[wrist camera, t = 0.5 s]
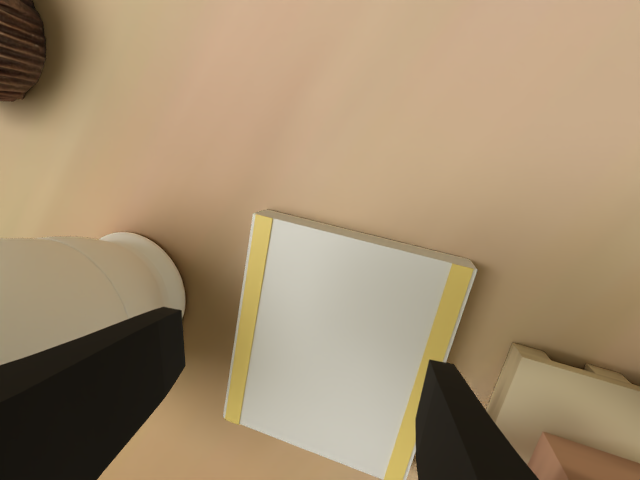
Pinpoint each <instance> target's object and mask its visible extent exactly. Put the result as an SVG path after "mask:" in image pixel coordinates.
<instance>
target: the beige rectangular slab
mask: <svg viewBox="0 0 640 480" xmlns="http://www.w3.org/2000/svg"><path fill="white" fill-rule="evenodd" d="M486 411H487V413H488V414H489V415H490V417H491V418H492V420H493V421H494V422H495V424H496V425H497V426H498V428H499V429H500V430H501V432H502V433H503V434H504V436H505V437H506V438H507V440H508V441H509V442H510V444H511V445H512V446H513V448H514V449H515V450H516V452H517V453H518V454H519V455H520V457H521V458H522V459H523V460H524V462H525V463H526V464H527V465H528V463H529V461H530V458H531V456H532V454H533V452H534V450H535V447H536V445H537V443H538V441H539V439H540V436H541V434H542V432H546V433H549V434H552V435H555V436H558V437H561V438H564V439H567V440H570V441H573V442H577V443H580V444H583V445H586V446H589V447H592V448H595V449H598V450H601V451H604V452H607V453H610V454H613V455H616V456H619V457H622V458H625V459H628V460H631V461H634V462H637V463H640V386H637V385H634V384H631V383H630V382H629V381H628V380H627V379H626V378H625V377H623V376H622V375H621V374H620V373H618V372H614V371H611V370H607V369H604V368H600V367H597V366H593V365H590V364H586V365H585V367H584V369H583V370H582V369H579V368H575V367H572V366H568V365H565V364H561V363H558V362H555V361H551V360H550V359H549V357H548V356H547V355H546V354H545V352H544V351H541V350H537V349H534V348H530V347H527V346H523V345H520V344H516V343H512V345H511V348H510V350H509V353H508V355H507V358H506V361H505V363H504V366H503V368H502V371H501V373H500V376H499V378H498V381H497V383H496V386H495V389H494V391H493V394H492V396H491V399H490V401H489V404H488V406H487V409H486Z"/></svg>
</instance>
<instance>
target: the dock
mask: <svg viewBox="0 0 640 480" xmlns="http://www.w3.org/2000/svg"><path fill="white" fill-rule="evenodd" d="M476 273H477V268H476V267H475V266H474V264H473V263H472V262H471V260H470V259H467V258H463V257H459V256H455V255H451V254H447V253H442V252H438V251H434V250H430V249H426V248H422V247H418V246H414V245H410V244H406V243H402V242H398V241H394V240H390V239H386V238H382V237H378V236H373V235H369V234H365V233H361V232H357V231H353V230H349V229H345V228H341V227H337V226H333V225H329V224H325V223H321V222H317V221H313V220H309V219H305V218H300V217H296V216H292V215H288V214H284V213H280V212H276V211H272V210H268V209H267V210H263V211H259V212H256V213H253V218H252V224H251V231H250V238H249V245H248V251H247V258H246V265H245V272H244V278H243V285H242V292H241V299H240V305H239V312H238V319H237V326H236V332H235V339H234V346H233V353H232V360H231V366H230V373H229V380H228V387H227V393H226V400H225V407H224V414H223V418H225V420H227V421H230V422H232V423H235V424H237V425H239V424H241V425H244V426H246V427H249V428H251V429H254V430H257V431H259V432H262V433H264V434H267V435H269V436H272V437H275V438H277V439H280V440H282V441H285V442H287V443H290V444H293V445H295V446H298V447H300V448H303V449H305V450H308V451H310V452H313V453H316V454H318V455H321V456H323V457H326V458H328V459H331V460H334V461H336V462H339V463H341V464H344V465H346V466H349V467H352V468H354V469H357V470H359V471H362V472H364V473H367V474H370V475H372V476H375V477H377V478H380V479H382V480H406V479H407V476H408V473H409V470H410V467H411V464H412V461H413V458H414V455H415V452H416V430H415V418H416V414H417V410H418V405H419V401H420V397H421V393H422V388H423V384H424V380H425V376H426V371H427V367H428V363H429V359H430V360H435V361H440V362H445V363H446V361H447V358H448V355H449V352H450V349H451V346H452V343H453V340H454V337H455V335H456V332H457V329H458V326H459V323H460V320H461V317H462V314H463V311H464V308H465V305H466V302H467V299H468V296H469V293H470V290H471V288H472V285H473V282H474V279H475V276H476Z"/></svg>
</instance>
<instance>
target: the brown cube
mask: <svg viewBox="0 0 640 480" xmlns="http://www.w3.org/2000/svg"><path fill="white" fill-rule="evenodd" d="M528 467H529V468H530V469H531V470H532V471H533V473H534V474H535V475H536V476H537V477H538V479H539V480H640V463H637V462H634V461H631V460H628V459H625V458H622V457H619V456H616V455H613V454H610V453H607V452H604V451H601V450H598V449H595V448H592V447H589V446H586V445H583V444H580V443H577V442H573V441H570V440H567V439H564V438H561V437H558V436H555V435H552V434H549V433H546V432H542V434H541V436H540V439H539V441H538V443H537V445H536V447H535V450H534V452H533V454H532V456H531V458H530V461H529V463H528Z"/></svg>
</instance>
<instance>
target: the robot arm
mask: <svg viewBox="0 0 640 480" xmlns="http://www.w3.org/2000/svg"><path fill="white" fill-rule="evenodd" d="M184 367H185V353H184V339H183V325H182V310H178V309H173V308H168V307H161V308H157V309H154V310H151V311H148V312H145V313H143V314H140V315H137V316H135V317H132V318H129V319H127V320H124V321H122V322H119V323H116V324H114V325H111V326H109V327H106V328H103V329H101V330H98V331H96V332H93V333H91V334H88V335H85V336H83V337H80V338H78V339H75V340H72V341H69V342H66V343H64V344H61V345H58V346H55V347H52V348H50V349H47V350H44V351H41V352H38V353H36V354H33V355H30V356H27V357H24V358H21V359H18V360H15V361H12V362H9V363H5V364H2V365H0V480H97V479H98V478H99V476H100V475H101V474H102V473H103V471H104V470H105V469H106V468H107V467H108V465H109V464H110V463H111V462H112V461H113V459H114V458H115V457H116V456H117V455H118V453H119V452H120V451H121V450H122V449H123V448H124V446H125V445H126V444H127V443H128V442H129V440H130V439H131V438H132V437H133V436H134V434H135V433H136V432H137V431H138V430H139V428H140V427H141V426H142V425H143V424H144V422H145V421H146V420H147V419H148V418H149V416H150V415H151V414H152V413H153V412H154V410H155V409H156V408H157V407H158V406H159V404H160V403H161V402H162V401H163V399H164V398H165V397H166V395H167V394H168V392H169V391H170V389H171V388H172V386H173V385H174V383H175V382H176V380H177V379H178V377H179V375H180V374H181V372H182V371H183V369H184ZM415 430H416V463H417V472H418V480H539V479H538V477H537V476H536V475H535V474H534V473H533V471H532V470H531V469H530V468H529V467H528V465H527V464H526V463H525V462H524V460H523V459H522V458H521V457H520V455H519V454H518V453H517V452H516V450H515V449H514V448H513V446H512V445H511V444H510V442H509V441H508V440H507V438H506V437H505V436H504V434H503V433H502V432H501V430H500V429H499V428H498V426H497V425H496V424H495V422H494V421H493V420H492V418H491V417H490V415H489V414H488V413H487V411H486V410H485V408H484V407H483V406H482V404H481V403H480V401H479V400H478V398H477V397H476V396H475V394H474V393H473V391H472V390H471V388H470V387H469V385H468V384H467V383H466V381H465V380H464V378H463V377H462V375H461V374H460V372H459V371H458V370H457V368H456V367H455V365H454V364H450V363H445V362H440V361H435V360H430V359H429V363H428V367H427V371H426V376H425V380H424V384H423V388H422V393H421V397H420V401H419V405H418V410H417V414H416V418H415Z"/></svg>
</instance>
